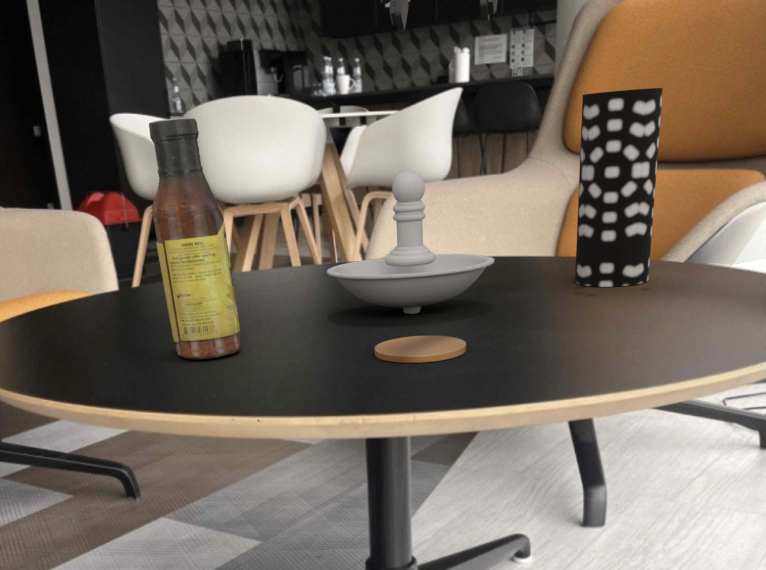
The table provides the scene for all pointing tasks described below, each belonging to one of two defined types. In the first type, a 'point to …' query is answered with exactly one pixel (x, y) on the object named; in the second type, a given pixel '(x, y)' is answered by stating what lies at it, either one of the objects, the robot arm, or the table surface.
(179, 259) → the sauce bottle
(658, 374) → the table surface
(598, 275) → the spotted tube
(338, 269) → the dish
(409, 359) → the cork coaster
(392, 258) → the chess piece
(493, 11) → the robot arm
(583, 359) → the table surface
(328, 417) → the table surface
